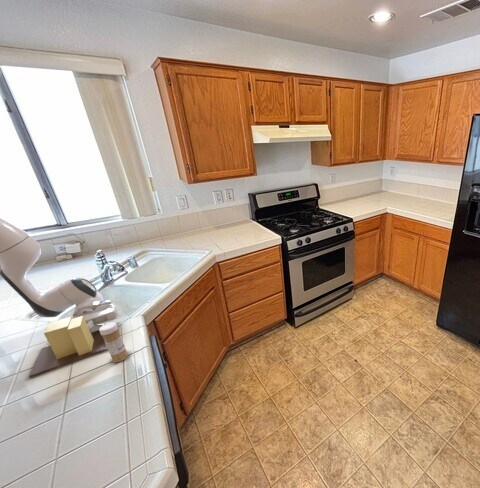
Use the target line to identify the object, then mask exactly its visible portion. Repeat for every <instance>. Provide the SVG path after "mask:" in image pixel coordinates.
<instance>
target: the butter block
mask: <svg viewBox="0 0 480 488" xmlns="http://www.w3.org/2000/svg"><path fill="white" fill-rule="evenodd" d="M72 316H73V315H72ZM72 316H67V317H64V318H61V319H58V320H53V321H51V322H48V324H47V326H46V328H45V330H44V332H43V334H44V336H45V338H46V340H47V342H48V344H49V346H51V348H52V350H53V352H54V354H55V356H56V358H57V359H59V358H62V357H65V356H68V355H71V354H74V353H77V350H76V348H75V346H74V344H73V342H72V339H71V337H70V335H69V333H68V331H67V329H68V326H69V323H70V321H71V319H73V318H72Z"/></svg>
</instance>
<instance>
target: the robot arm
mask: <svg viewBox="0 0 480 488" xmlns="http://www.w3.org/2000/svg"><path fill="white" fill-rule="evenodd" d="M41 254H42V246H41V244H40V243H39V242H38V241H37V240H36V239H35V238H34V237H33V236H31V235H30V234H29V233H28V232H26V231H25V230H23V228H21V227H20V226H18V225H17V224H15V223H13V222H11V221H10V220H8V219H6V218H4V217H2V216H0V277H2V279H3V280H4V281H5V282H6V283H7V284H8V285H9V286H10V287H11V288H12V289H13V290H14V291H15V292H16V293H17V294H18V295H19V296H20V298H22V299H23V300H24V301H25V302H26V303H27V304H28V305H29V307H30V308H31V309H32V310H33V312H34V313H35V314H36V315H37V316H39V317H41V318H56V317H58V316H59V315H61V314H62V313H64V312H65V311H67V310H68V309H69V308H71V307H73V306H75V307H74V310H73V312H72V318H73V319H74V318H77V317H80V316H84V318H85V321H86V323H87V325H88V328H89V330H91V329H92V328H93V327H96V326H99V325H101V324H106V323H109V322H112V321H113V320H116V319H118V318H119V316H120V315H119V313H118V310H117V307H116V305H115V304H114V303H113V301H112V300H111V299H110V300H104V297H103V295H102V293H101V292H99V291H98V290H97V288H96V287H95V285H94V284H93V283H92V282H91V281H89V280H88V279H86V278H82V277H71V278H69V279H67V280H65V281H64V282H62V283H60V284H59V285H57V286H55V287H53V288H51V289H50V290H48V291H46V292H41V291H40V290H39V289H38V288H37V287H36V286H35V284H33V283H32V282H31V280H29V278H28V277H27V273H28V271H29V270H30V269H31V268H32V267H33V266H34V265H35V264H36V262H38V260H39V259H40V257H41Z"/></svg>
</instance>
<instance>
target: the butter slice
mask: <svg viewBox="0 0 480 488" xmlns="http://www.w3.org/2000/svg"><path fill="white" fill-rule="evenodd" d="M67 331H68V333H69V335H70V337H71V339H72V342H73V344H74V346H75V348H76V350H77V352H78V354H79V356H80V355H83V354H86V353H88V352H91V351H92V347H93V342H94V339H93V337H92V335H91V332H92V331H91V329H89V328H88V325H87V323H86V321H85V318H84V316H80V317H77V318H74V319H71V321H70V323H69V326H68V329H67Z"/></svg>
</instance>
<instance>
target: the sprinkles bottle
mask: <svg viewBox="0 0 480 488" xmlns="http://www.w3.org/2000/svg"><path fill="white" fill-rule="evenodd" d="M98 330H99V331H100V334H101V335H102V336H103V339H104V342H105V344H106V346H107V349H108V350H107V351H108V354H109V355H110V358H111V362H113V363H120V362H122V361H124V360H126V359H127V358H128V357H129V352H128V351H127V349H126V345H125V342H124V339H123V337H122V335H121V333H120V330H119V327H118V324H117V322H114V321H110V322H106V323H104V324H103V325H101V326H100V327H99V329H98Z"/></svg>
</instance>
